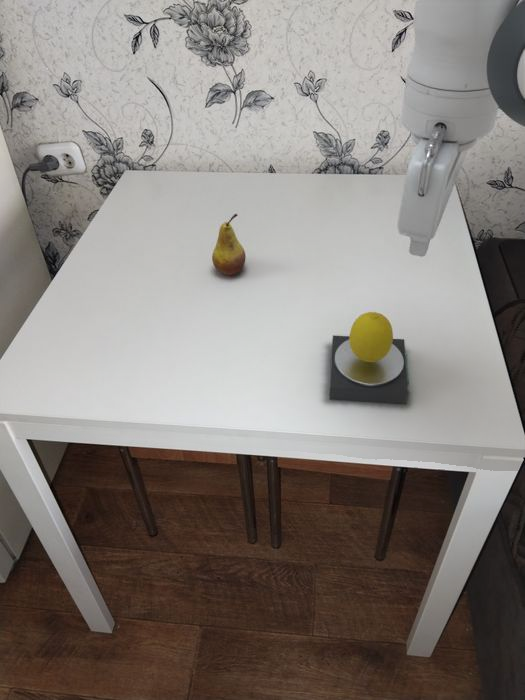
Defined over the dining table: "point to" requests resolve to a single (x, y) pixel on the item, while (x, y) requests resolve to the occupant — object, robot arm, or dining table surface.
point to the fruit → (228, 251)
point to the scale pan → (368, 367)
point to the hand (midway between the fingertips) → (427, 229)
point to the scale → (383, 394)
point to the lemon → (371, 337)
